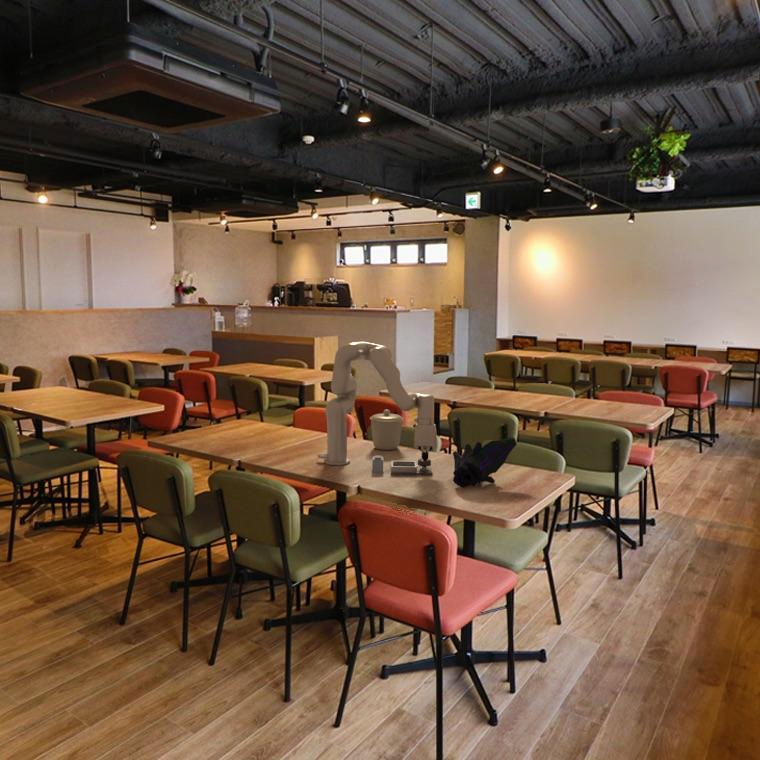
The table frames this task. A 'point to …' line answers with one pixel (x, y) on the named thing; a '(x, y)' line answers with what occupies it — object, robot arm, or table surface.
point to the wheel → (424, 462)
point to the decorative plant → (481, 461)
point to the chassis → (409, 468)
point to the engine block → (377, 464)
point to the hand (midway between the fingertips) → (424, 460)
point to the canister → (386, 430)
